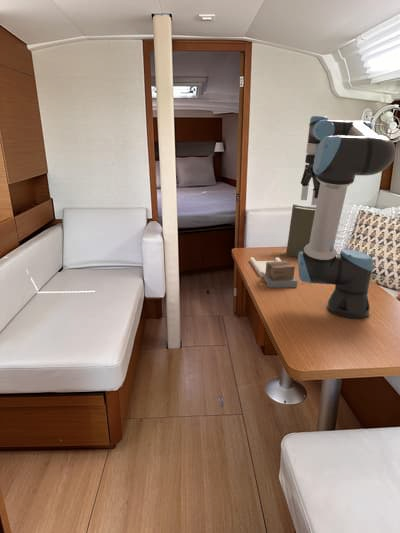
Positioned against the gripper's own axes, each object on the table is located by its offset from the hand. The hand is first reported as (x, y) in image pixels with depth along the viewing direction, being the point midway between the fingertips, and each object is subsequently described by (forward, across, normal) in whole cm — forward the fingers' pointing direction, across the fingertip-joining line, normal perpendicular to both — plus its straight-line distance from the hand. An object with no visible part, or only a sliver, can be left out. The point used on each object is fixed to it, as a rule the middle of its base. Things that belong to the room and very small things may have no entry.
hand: (308, 202), depth 168 cm
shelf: (+35, +5, +14) cm, 38 cm away
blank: (+32, -12, +14) cm, 37 cm away
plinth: (+35, -12, +14) cm, 39 cm away
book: (+35, +26, -13) cm, 45 cm away
